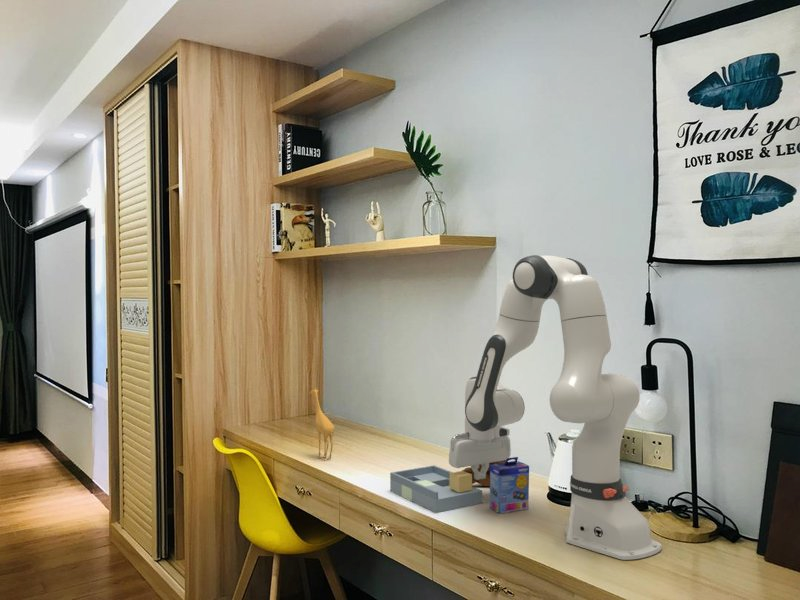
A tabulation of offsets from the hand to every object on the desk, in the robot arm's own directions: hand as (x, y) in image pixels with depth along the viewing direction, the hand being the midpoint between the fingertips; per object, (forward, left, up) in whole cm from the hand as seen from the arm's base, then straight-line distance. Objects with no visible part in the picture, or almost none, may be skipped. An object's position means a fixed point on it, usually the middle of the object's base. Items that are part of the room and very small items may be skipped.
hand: (479, 478), depth 192 cm
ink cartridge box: (-12, -1, -6) cm, 13 cm away
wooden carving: (+8, -10, -6) cm, 14 cm away
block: (0, +7, -2) cm, 8 cm away
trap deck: (+8, +10, -6) cm, 14 cm away
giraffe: (+69, +18, -6) cm, 72 cm away
